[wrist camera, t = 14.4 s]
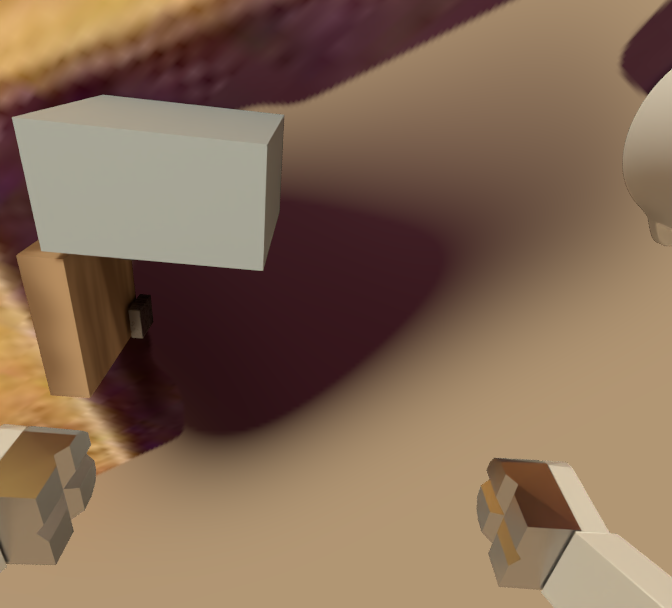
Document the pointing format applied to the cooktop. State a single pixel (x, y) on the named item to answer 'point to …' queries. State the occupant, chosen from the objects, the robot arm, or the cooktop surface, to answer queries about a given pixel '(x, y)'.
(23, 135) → the cabinet
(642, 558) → the robot arm
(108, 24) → the cooktop surface
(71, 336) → the door
